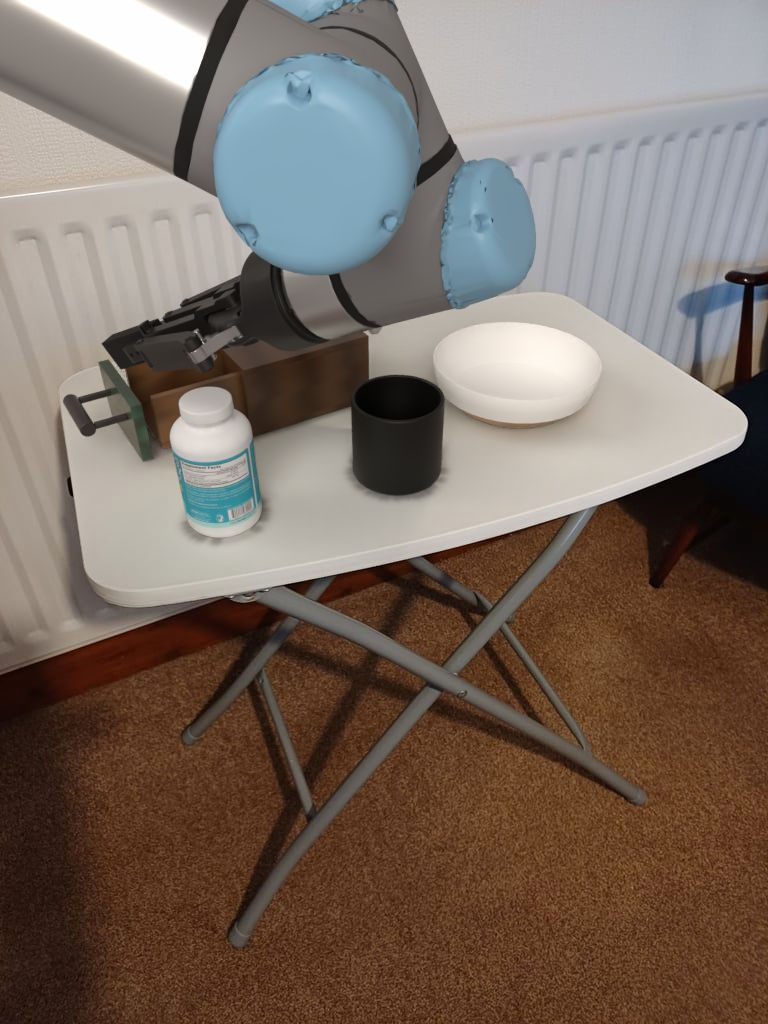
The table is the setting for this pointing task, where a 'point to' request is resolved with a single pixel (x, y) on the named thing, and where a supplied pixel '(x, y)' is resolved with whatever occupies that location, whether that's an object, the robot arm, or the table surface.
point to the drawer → (151, 400)
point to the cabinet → (299, 380)
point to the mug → (397, 433)
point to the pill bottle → (215, 464)
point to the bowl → (516, 373)
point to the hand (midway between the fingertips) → (116, 352)
